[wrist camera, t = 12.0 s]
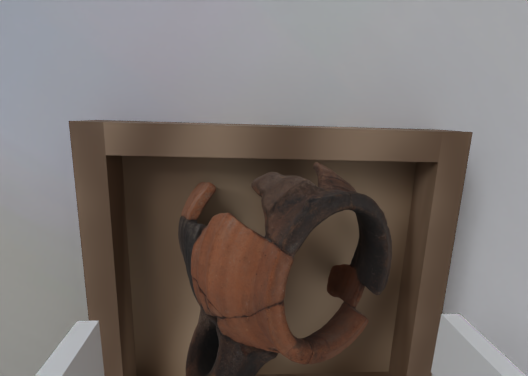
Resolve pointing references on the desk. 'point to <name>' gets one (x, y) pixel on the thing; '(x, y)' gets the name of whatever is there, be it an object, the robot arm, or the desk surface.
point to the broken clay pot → (275, 273)
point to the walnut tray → (263, 234)
